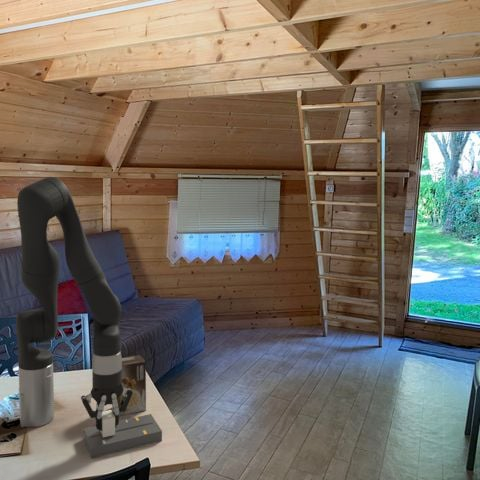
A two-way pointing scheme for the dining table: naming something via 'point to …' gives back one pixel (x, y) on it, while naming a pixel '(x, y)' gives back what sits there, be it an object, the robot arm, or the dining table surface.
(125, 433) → the fader console
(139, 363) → the coffee box
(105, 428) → the fader knob
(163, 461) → the dining table surface
